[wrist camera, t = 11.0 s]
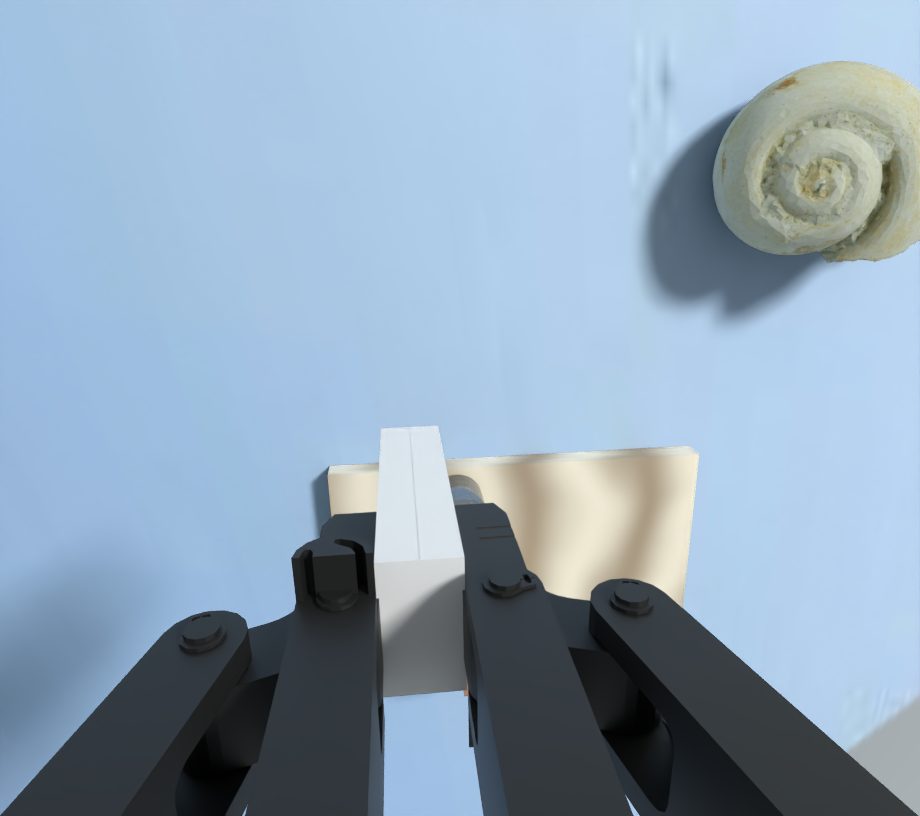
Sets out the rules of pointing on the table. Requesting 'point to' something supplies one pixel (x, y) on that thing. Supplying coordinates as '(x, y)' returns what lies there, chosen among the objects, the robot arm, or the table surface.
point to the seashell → (825, 165)
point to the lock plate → (575, 512)
